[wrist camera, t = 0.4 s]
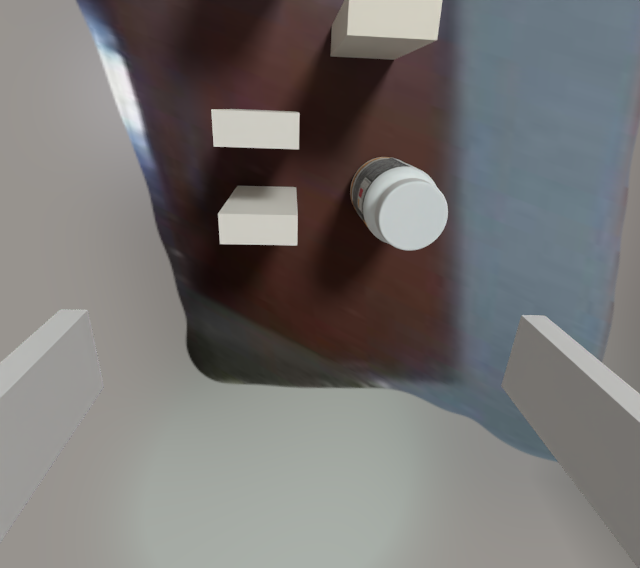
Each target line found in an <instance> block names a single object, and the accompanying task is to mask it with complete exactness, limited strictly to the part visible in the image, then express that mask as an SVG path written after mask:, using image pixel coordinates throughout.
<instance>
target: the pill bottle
mask: <svg viewBox="0 0 640 568" xmlns="http://www.w3.org/2000/svg"><path fill="white" fill-rule="evenodd" d="M350 196H351V201H352V204H353V206H354V208H355V210H356V211H357V213H358V215H359V216H360V218H361V219H362V220H363V221H364V223H365V224H366V226H367V227H368V229H369V230H370V231H371V232H372V234H373V235H374V236H375V237H377V238H378V239H379V240H381V241H383V242H385V243H388V244H391V245H392V246H394V247H396V248H398V249H401V250H417V249H421V248H424V247H426V246H428V245H429V244H431V243H432V242H433V241H435V240H436V239H437V238H438V237H439V235H440V234H441V233H442V231H443V229H444V227H445V225H446V222H447V218H448V207H447V202H446V199H445V197H444V195H443V194H442V193H441V191H440V190H439V189H438V188H437V187H436V185H435V183H434V181H433V180H432V179H431V178H430V176H429V175H427V174H426V173H425V172H423V171H422V170H420V169H418V168H415V167H413V166H411V165H409V164H406V163H405V162H403V161H400V160H398V159H394V158H391V157H379V158H375V159H372V160H370V161H368V162H366V163H365V164H364V165H362V166H361V167H360V168H359V170H358V171H357V172H356V174H355V175H354V177H353V180H352V183H351V188H350Z"/></svg>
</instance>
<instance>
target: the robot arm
mask: <svg viewBox="0 0 640 568" xmlns="http://www.w3.org/2000/svg"><path fill="white" fill-rule="evenodd" d="M103 388H104V385H103V380H102V375H101V370H100V365H99V360H98V355H97V352H96V346H95V341H94V336H93V331H92V326H91V322H90V317H89V312H88V310H59V311H58V312H57V313H56V314H55V315H54V316H53V317H51V318H50V319H49V320H48V321H47V322H46V323H44V324H43V325H42V326H41V327H40V328H39V329H38V330H37V331H35V332H34V333H33V334H32V335H31V336H30V337H29V338H27V339H26V340H25V341H24V342H23V343H22V344H21V345H20V346H19V347H17V348H16V349H15V350H14V351H13V352H12V353H11V354H10V355H8V356H7V357H6V358H5V359H4V360H3V361H1V362H0V543H1V541H2V540H3V538H4V537H5V535H6V534H7V532H8V531H9V529H10V528H11V526H12V525H13V523H14V522H15V520H16V519H17V517H18V516H19V514H20V513H21V511H22V510H23V508H24V507H25V505H26V504H27V502H28V501H29V499H30V498H31V496H32V495H33V493H34V492H35V490H36V489H37V487H38V486H39V484H40V483H41V481H42V480H43V478H44V477H45V475H46V473H47V472H48V471H49V469H50V468H51V466H52V464H53V463H54V461H55V460H56V459H57V457H58V456H59V454H60V453H61V451H62V449H63V448H64V447H65V445H66V443H67V442H68V441H69V439H70V437H71V436H72V434H73V433H74V431H75V430H76V428H77V427H78V425H79V424H80V422H81V421H82V419H83V418H84V416H85V415H86V413H87V412H88V410H89V409H90V407H91V406H92V404H93V403H94V401H95V400H96V398H97V397H98V395H99V394H100V392H101V391H102V389H103ZM502 388H503V389H504V390H505V392H506V393H507V394H508V396H509V397H510V398H511V400H512V401H513V402H514V404H515V405H516V406H517V408H518V409H519V410H520V412H521V413H522V414H523V416H524V417H525V418H526V420H527V421H528V422H529V424H530V425H531V426H532V428H533V429H534V430H535V432H536V433H537V434H538V436H539V437H540V438H541V440H542V441H543V442H544V444H545V445H546V446H547V448H548V449H549V450H550V452H551V453H552V454H553V455H554V457H555V458H556V459H557V461H558V462H559V463H560V465H561V466H562V467H563V469H564V470H565V471H566V473H567V474H568V475H569V477H570V478H571V479H572V481H573V482H574V483H575V485H576V486H577V487H578V489H579V490H580V491H581V493H582V494H583V495H584V497H585V498H586V499H587V501H588V502H589V503H590V505H591V506H592V507H593V509H594V510H595V511H596V513H597V514H598V515H599V517H600V518H601V519H602V521H603V522H604V523H605V525H606V526H607V527H608V529H609V530H610V531H611V533H612V534H613V535H614V537H615V538H616V539H617V541H618V542H619V543H620V545H621V546H622V547H623V549H624V550H625V551H626V553H627V554H628V555H629V557H630V558H631V559H632V561H633V562H634V563H635V565H636V566H637V567H638V568H640V394H639V393H638V392H636V391H635V390H634V389H633V388H632V387H630V386H629V385H628V384H627V383H626V382H624V381H623V380H622V379H621V378H620V377H618V376H617V375H616V374H615V373H614V372H612V371H611V370H610V369H609V368H608V367H606V366H605V365H604V364H603V363H601V362H600V361H599V360H598V359H597V358H595V357H594V356H593V355H592V354H591V353H589V352H588V351H587V350H586V349H585V348H583V347H582V346H581V345H580V344H579V343H577V342H576V341H575V340H574V339H572V338H571V337H570V336H569V335H568V334H566V333H565V332H564V331H563V330H562V329H560V328H559V327H558V326H557V325H556V324H554V323H553V322H552V321H551V320H549V319H548V318H547V317H546V316H542V315H522V316H521V319H520V323H519V326H518V330H517V333H516V337H515V340H514V344H513V347H512V351H511V354H510V358H509V361H508V365H507V368H506V372H505V375H504V379H503V382H502Z"/></svg>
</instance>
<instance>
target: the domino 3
mask: <svg viewBox="0 0 640 568" xmlns="http://www.w3.org/2000/svg"><path fill="white" fill-rule="evenodd" d="M441 7H442V0H345V1H344V3H343V4H342V6H341V8H340V10H339V12H338V14H337V16H336V18H335V20H334V22H333V24H332V31H331V55H330V56H332V57H352V58H371V59H390V60H395V59H397V58H399V57H401V56H403V55H406V54H408V53H410V52H412V51H414V50H417V49H419V48H421V47H423V46H425V45H428V44H430V43H432V42H434V41H436V40H437V37H438V29H439V22H440V14H441Z"/></svg>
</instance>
